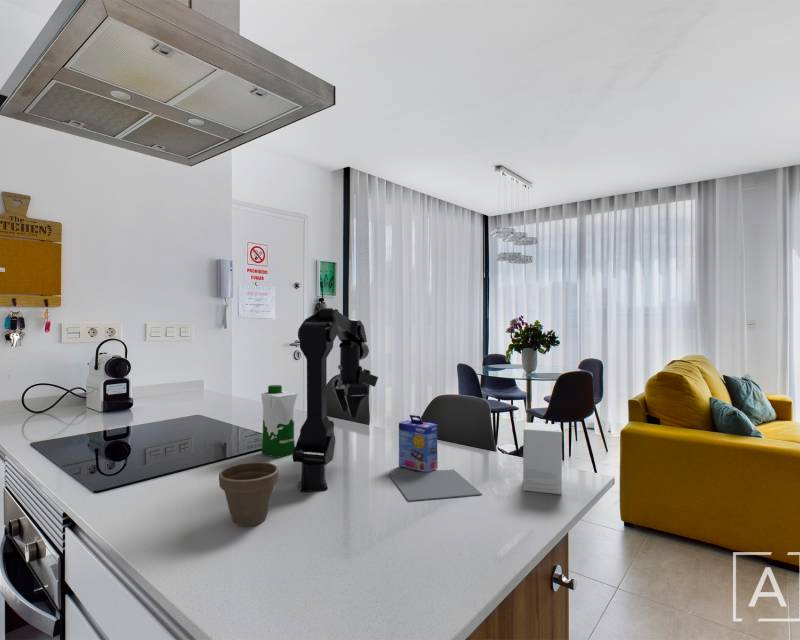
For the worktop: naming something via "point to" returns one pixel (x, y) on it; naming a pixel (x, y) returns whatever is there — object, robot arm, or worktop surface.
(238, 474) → the flower pot
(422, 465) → the ink cartridge box
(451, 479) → the charcoal mat
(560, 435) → the supplement box
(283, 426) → the milk carton
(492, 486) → the worktop surface
